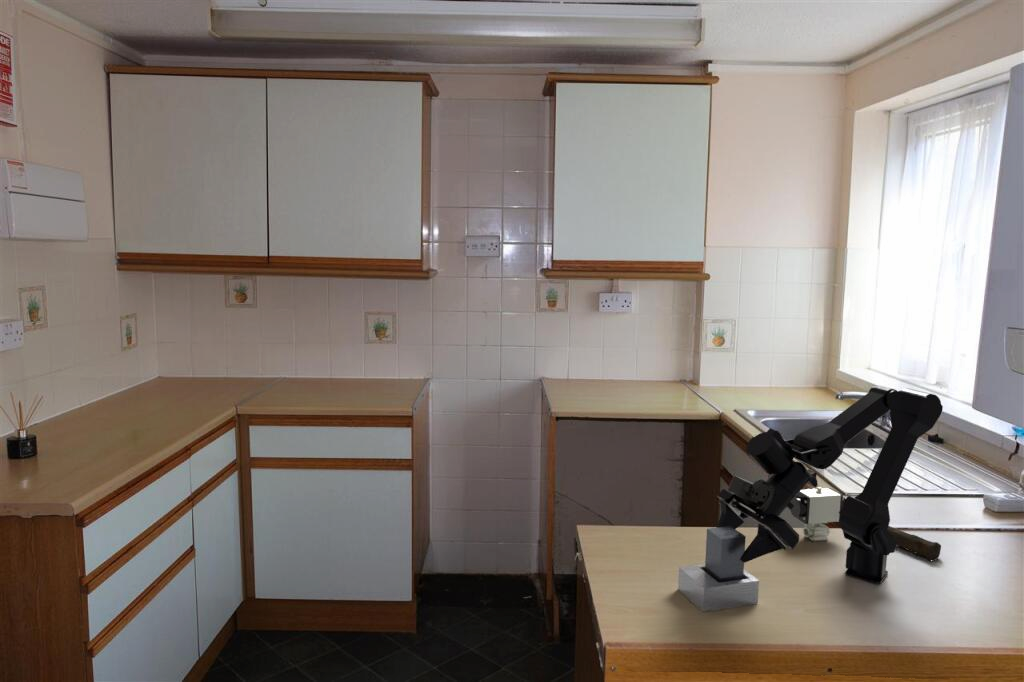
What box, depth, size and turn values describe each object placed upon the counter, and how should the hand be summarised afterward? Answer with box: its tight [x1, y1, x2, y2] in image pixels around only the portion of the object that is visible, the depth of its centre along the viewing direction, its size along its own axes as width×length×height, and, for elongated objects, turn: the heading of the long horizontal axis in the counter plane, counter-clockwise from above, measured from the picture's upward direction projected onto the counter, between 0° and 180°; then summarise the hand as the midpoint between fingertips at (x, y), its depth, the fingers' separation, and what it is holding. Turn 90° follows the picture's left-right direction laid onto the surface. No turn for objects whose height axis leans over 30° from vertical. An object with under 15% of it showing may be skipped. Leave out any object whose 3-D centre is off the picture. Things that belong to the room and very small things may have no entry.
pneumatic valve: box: [789, 486, 846, 543], centre depth 161 cm, size 6×12×12 cm, turn 101°
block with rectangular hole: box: [677, 563, 760, 613], centre depth 134 cm, size 12×9×4 cm
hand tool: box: [887, 525, 942, 562], centre depth 159 cm, size 19×4×5 cm, turn 26°
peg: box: [704, 526, 746, 583], centre depth 134 cm, size 5×5×12 cm
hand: (727, 550), depth 134 cm, fingers open, 9 cm apart
